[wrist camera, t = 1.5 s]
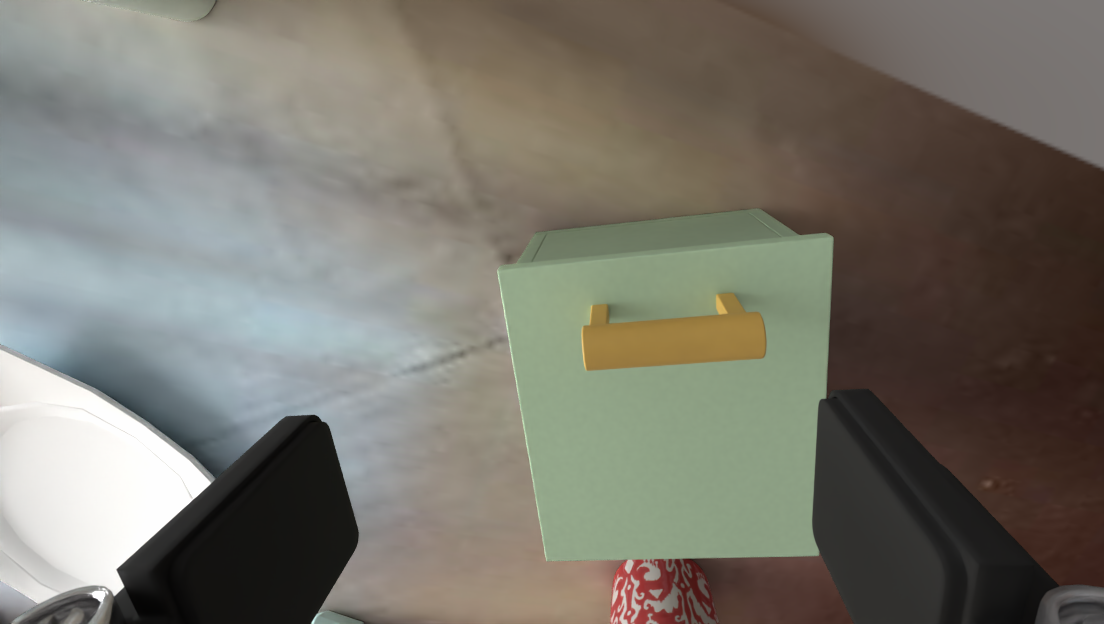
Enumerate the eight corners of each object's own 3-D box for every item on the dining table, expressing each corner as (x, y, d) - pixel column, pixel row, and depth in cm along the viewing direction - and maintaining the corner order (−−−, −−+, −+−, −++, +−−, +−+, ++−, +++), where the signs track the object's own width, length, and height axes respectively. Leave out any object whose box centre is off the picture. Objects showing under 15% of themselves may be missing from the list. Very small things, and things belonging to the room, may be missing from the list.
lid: (500, 264, 23) (470, 306, 18) (826, 232, 21) (890, 268, 16) (547, 549, 28) (534, 641, 23) (813, 544, 26) (859, 642, 21)
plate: (168, 654, 51) (144, 682, 48) (-77, 500, 47) (-116, 522, 44) (297, 505, 42) (278, 530, 40) (14, 305, 39) (-27, 319, 36)
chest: (535, 232, 33) (503, 282, 23) (759, 207, 31) (825, 251, 21) (564, 437, 38) (547, 549, 28) (759, 427, 36) (813, 543, 26)
